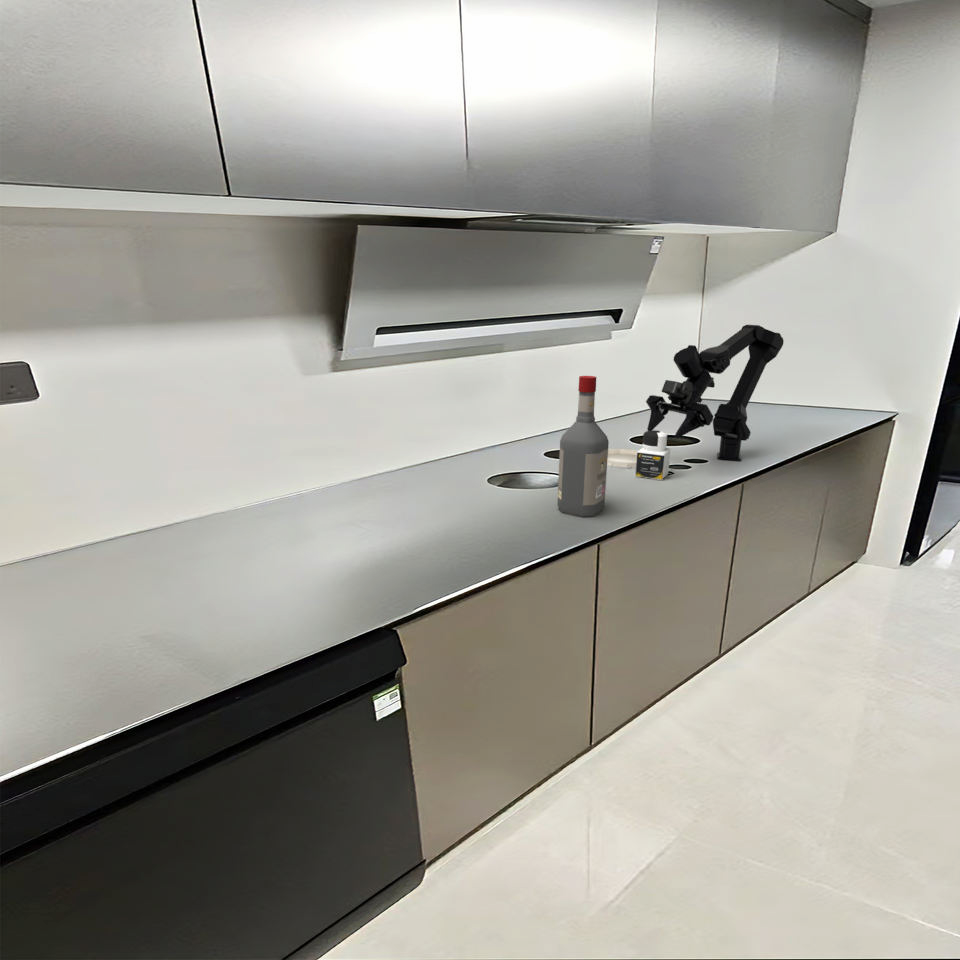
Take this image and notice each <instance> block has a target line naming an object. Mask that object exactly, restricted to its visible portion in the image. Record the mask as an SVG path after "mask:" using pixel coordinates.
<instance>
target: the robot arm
mask: <svg viewBox="0 0 960 960" xmlns="http://www.w3.org/2000/svg"><path fill="white" fill-rule="evenodd" d="M783 345H784V338H783V337H782V335H781V333H780V332H774V331H772V330H769V329H766V328H765V327H763V326H762V325H760V324H759V325H758V324H745V325H743V326H742V327H741V328H740V330H738V331H737V332H736V333H734V334H733V335H732V336H730V337H728V338H727V339H726V340H725V341H724V342H722V343H721V344H719V345H716V346H713V347H708V348H706V349H703V350H702V351H700V352H699V350H698V348H697V346H696V345H692V344H689V345H688V346H687V347H686V348H683V349H680V350H679V351H678V352H676V353H675V354H674V356H673V362H674V364H675V365H676V367H677V369H678V370H679V372H680V374H681V375H682V377H683V378H686V380H684V381H683V382H679V381H675V380H668V379H666V380H664V383H663V386H662V389H661V392H662V393H664V394H666V395H668V396H667V399H668V401H670V402H666V399H664V397H663V396H659V395H654V394H651V395H649V396H648V397H647V399H646V400H645V403H646V404H647V406H648V408H649V409H650V417H649V421H648V425H647V430H646V431H650V430H655V428H656V427H658V425H659V424H661V422H663V420H664V419H665V416H666V415H668V413H669V412H675V413H678V414H682V415H685V419H684V420H683V421H682V423H681V424H680V426H679V428H678V429H677V431H676V432H675V434H674V438H675V439H679V438H681V437H683V436H685V435H686V434H689V433H691V432H692V431H694V430H697V429H699V428H701V427H702V428H703V427H705V426H707V427H708V426H710V425H711V423H712V426H713V428H712V429H713V435H714V436H715V437H720V443H719V452H717V453H716V456H717V458H716V459H717V460H728V461H736V462H737V461H738V462H739V461H742V456H741V454H740V453H741V447H742V441H744V442H745V441H747V440H749V439H750V436H751V430H750V428H749V426H748V425H747V421H748V413H747V407H748V404H749V402H750V400H751V398H752V396H753V394H754V391H755V390H756V387H757V386H758V383H759V381H760V379H761V376H762V374H763V372H764V370H765V368H766V366H767V364H768V363H770V362H772V361H773V360H774V359H775V358H777V356H778V354H779V353H780V351H781V349H782V348H783ZM746 348H748V354H749V355H748V356H749V358H748V360H747V363H746V364H745V366H744V369H743V370H742V374H741V375H740V378H739V380H738V382H737V383H736V384H737V385H736V386H735V388H734V390H733V393H732V394H731V397H730V399H729V401H728V402H726V403H720V404H719V405H718V406H717V407H718V408H717V410H716V412H715V413H714V414H713V413H712V412H711V410H710V408H709V406H708V405H707V404H704V403H702V401H703V398H702V396H703V394H704V393H705V391H706V390H707V389H708V388H715V384H716V383H715V379H714V377H713V376H712V375H711V374H718V375H720V374H722V373H724V372H725V370H727V369H728V367H729V366H730V365H731V360H732V359H734V357H736V356H737V355H738V354H740V353H741V352H742V351H744V350H745V349H746Z"/></svg>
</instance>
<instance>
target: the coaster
mask: <svg viewBox="0 0 960 960" xmlns="http://www.w3.org/2000/svg"><path fill="white" fill-rule="evenodd" d="M637 451H638V450H637V449H629V448H627V449H626V448H608V460H607V465H610V466H620V467H636V462H637ZM610 466H609V467H610Z"/></svg>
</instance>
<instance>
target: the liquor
mask: <svg viewBox="0 0 960 960" xmlns="http://www.w3.org/2000/svg"><path fill="white" fill-rule="evenodd" d="M578 378H579V379H578V405H577V416H576V418H575V419H576V420H575V421H574V423H572V425H570V427H569V428H568V429H567V430H566V431H565V432H564V433H563V434H562V436H561V438H560V439H559V440H560V441H559V458H558V483H557V507H558V509H559V510H560V511H561V512H562V513H563V514H567V515H571V516H576V517H580V518H589V517H591V518H592V517H594V516H596V515H598V514H599V513H600V512H602V511H603V510H604V509H605V504H606V503H605V501H606V489H607V488H606V486H607V470H608V466H607V460H608V449H609V444H610V443H609V438H608V436H607V435H606V433H605V432H604V431H603V430H602V428H601V427H600V426H599V425H598V424H597V422H596V418H595V417H596V416H595V400H596V398H595V397H596V394H595V393H596V390H597V376H593V375H581V376H579V377H578Z"/></svg>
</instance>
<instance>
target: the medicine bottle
mask: <svg viewBox="0 0 960 960" xmlns="http://www.w3.org/2000/svg"><path fill="white" fill-rule="evenodd" d="M667 440H668V434H667V433H666V432H664V431H661V430H655V429H653V430H650V431H648V430H646V431H645V432H643V436H642V447H641V448H640V449H639V450H637V462H636V468H635V477H636V476H638V477H637V478H640V477H645V478H644V479H647V478H652V479H651V480H655V479H659V480H658V481H663V480H664V479H665V478H664V477H667V476H668V474H669V470H670V469H669V468H670V457H671V449H670V448H668V447H667ZM663 478H664V479H663Z"/></svg>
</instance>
